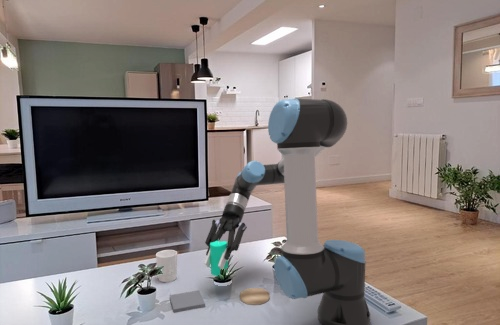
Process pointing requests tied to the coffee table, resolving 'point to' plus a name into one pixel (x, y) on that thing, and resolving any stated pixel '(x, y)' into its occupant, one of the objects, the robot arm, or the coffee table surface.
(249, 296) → the cork pad
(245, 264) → the coffee table surface
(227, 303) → the coffee table surface
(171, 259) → the white cup
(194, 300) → the slate pad
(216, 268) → the candle
